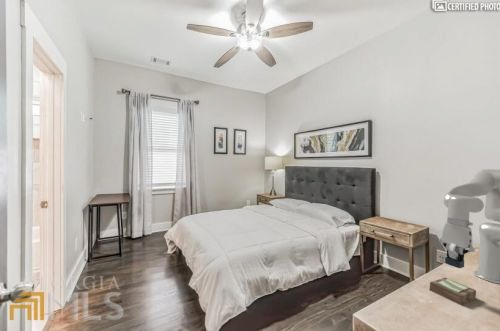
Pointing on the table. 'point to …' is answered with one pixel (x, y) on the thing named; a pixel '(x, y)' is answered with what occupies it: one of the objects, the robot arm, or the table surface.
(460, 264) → the watch
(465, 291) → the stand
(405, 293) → the table surface
